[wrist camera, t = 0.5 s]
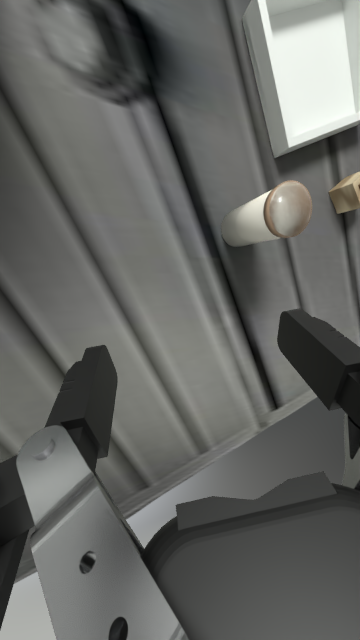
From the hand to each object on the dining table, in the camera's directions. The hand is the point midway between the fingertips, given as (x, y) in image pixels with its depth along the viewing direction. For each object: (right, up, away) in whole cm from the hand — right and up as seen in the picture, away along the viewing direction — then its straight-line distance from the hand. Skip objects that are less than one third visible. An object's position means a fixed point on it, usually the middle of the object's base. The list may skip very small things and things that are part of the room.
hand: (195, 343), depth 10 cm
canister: (+8, +15, +23) cm, 29 cm away
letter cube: (+26, +22, +27) cm, 43 cm away
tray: (+17, +35, +21) cm, 45 cm away
